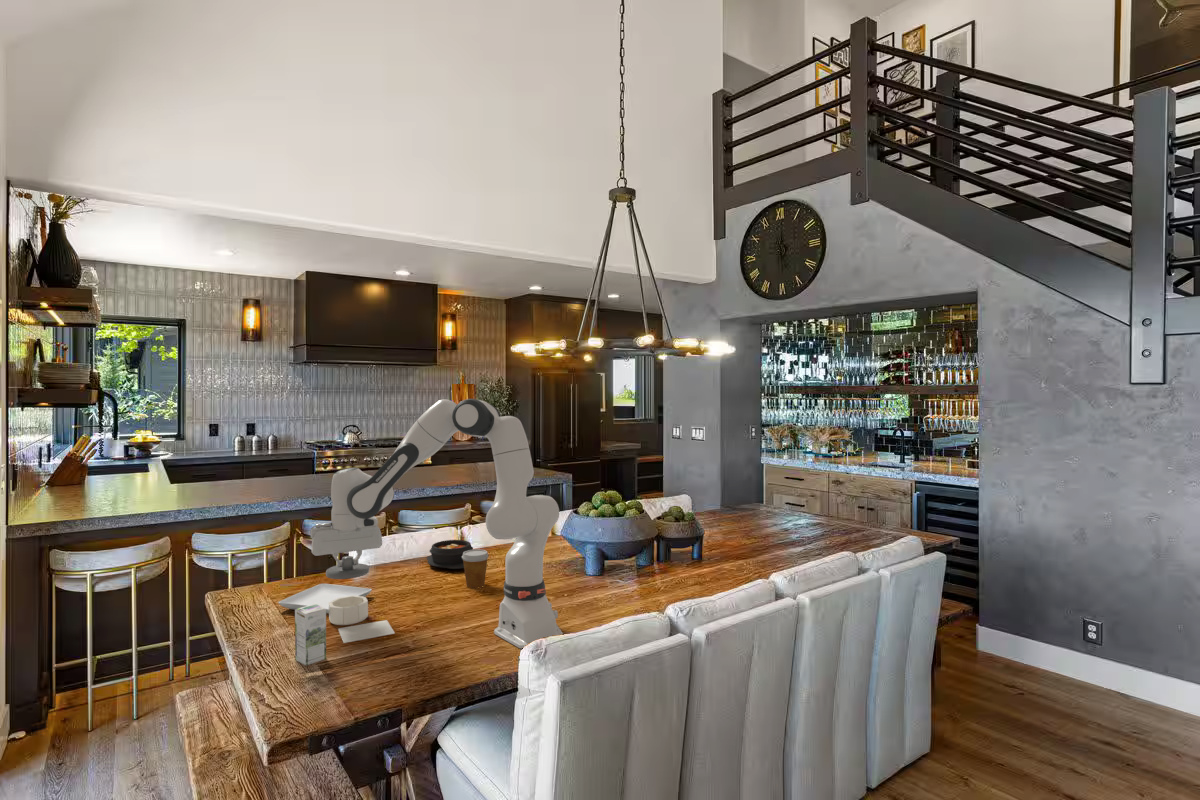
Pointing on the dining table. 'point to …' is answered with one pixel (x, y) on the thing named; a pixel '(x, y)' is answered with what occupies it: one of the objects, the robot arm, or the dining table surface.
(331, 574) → the lid
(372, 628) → the mat
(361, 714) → the dining table surface
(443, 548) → the casserole
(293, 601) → the salad plate
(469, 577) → the disposable coffee cup
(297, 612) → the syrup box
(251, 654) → the dining table surface
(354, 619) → the bowl
